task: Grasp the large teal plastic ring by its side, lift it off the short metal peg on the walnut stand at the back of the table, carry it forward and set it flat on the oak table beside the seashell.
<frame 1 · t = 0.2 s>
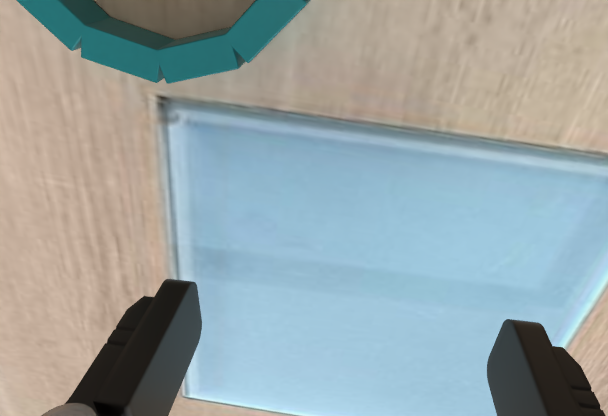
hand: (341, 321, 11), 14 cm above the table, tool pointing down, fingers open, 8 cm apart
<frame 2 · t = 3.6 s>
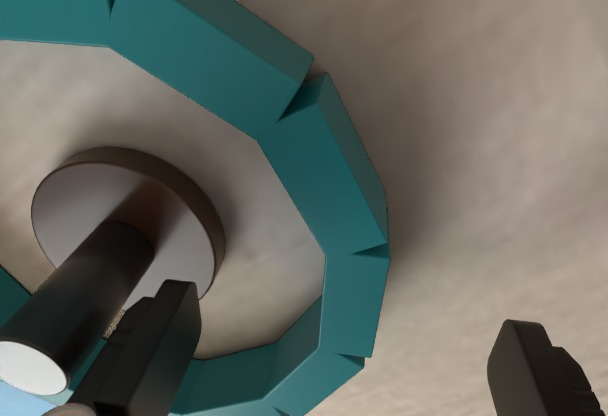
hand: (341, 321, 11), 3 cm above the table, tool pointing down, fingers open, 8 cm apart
peg stand: (138, 229, 14), on the table
ring: (138, 229, 14), on the table
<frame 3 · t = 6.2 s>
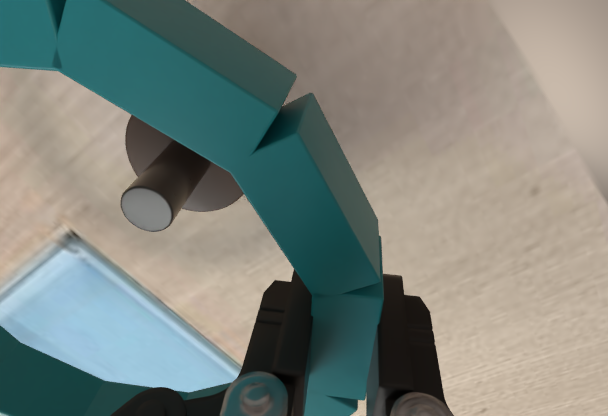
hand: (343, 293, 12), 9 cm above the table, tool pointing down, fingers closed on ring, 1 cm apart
peg stand: (196, 147, 20), on the table
ring: (111, 258, 13), point 8 cm above the table, touching gripper
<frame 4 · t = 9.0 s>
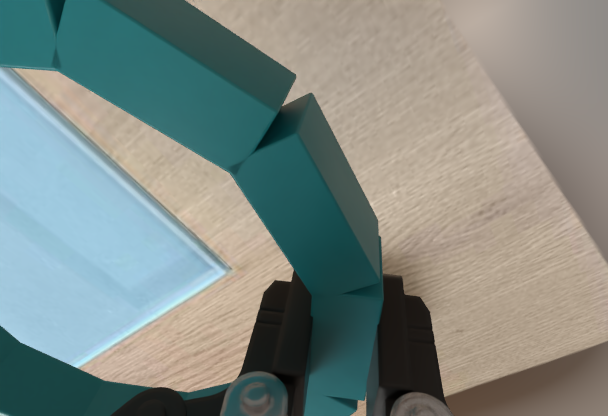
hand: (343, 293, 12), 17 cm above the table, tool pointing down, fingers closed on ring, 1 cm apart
ring: (111, 258, 13), point 16 cm above the table, touching gripper
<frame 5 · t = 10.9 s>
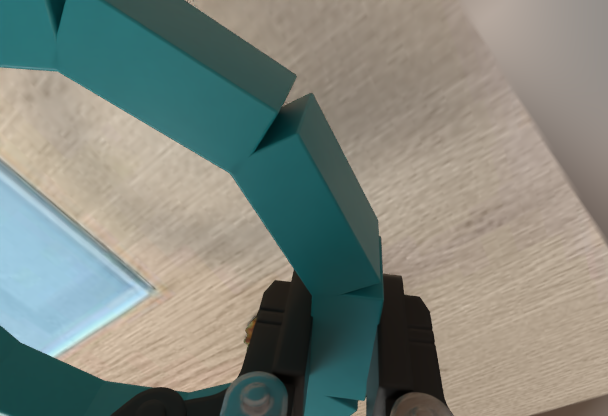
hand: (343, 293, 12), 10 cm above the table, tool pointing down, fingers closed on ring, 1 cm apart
ring: (111, 258, 13), point 10 cm above the table, touching gripper
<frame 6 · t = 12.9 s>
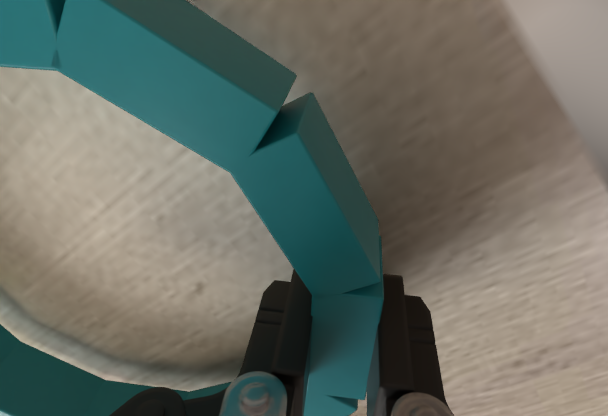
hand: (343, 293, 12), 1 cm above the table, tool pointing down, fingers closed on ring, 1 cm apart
ring: (111, 257, 13), point 1 cm above the table, touching gripper
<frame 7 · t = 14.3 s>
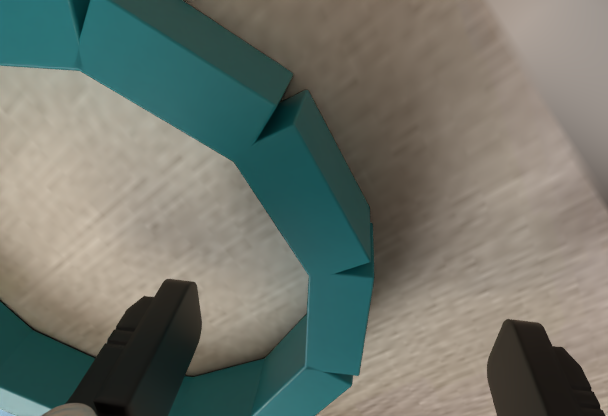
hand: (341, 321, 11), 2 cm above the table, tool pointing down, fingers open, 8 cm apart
ring: (121, 247, 14), on the table
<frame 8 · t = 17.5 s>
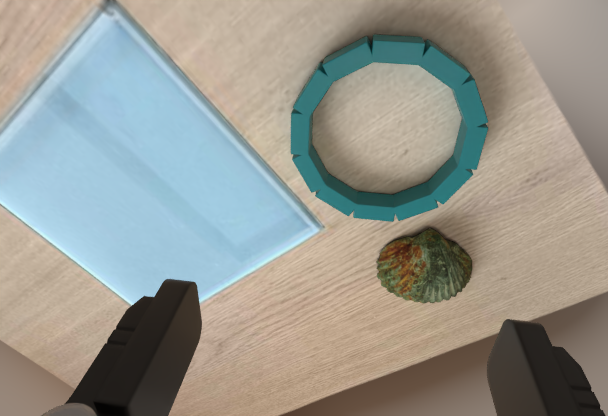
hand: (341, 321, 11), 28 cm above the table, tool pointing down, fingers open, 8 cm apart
seashell: (423, 264, 45), on the table
ring: (383, 130, 38), on the table
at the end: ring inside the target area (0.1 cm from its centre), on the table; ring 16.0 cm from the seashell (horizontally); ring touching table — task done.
